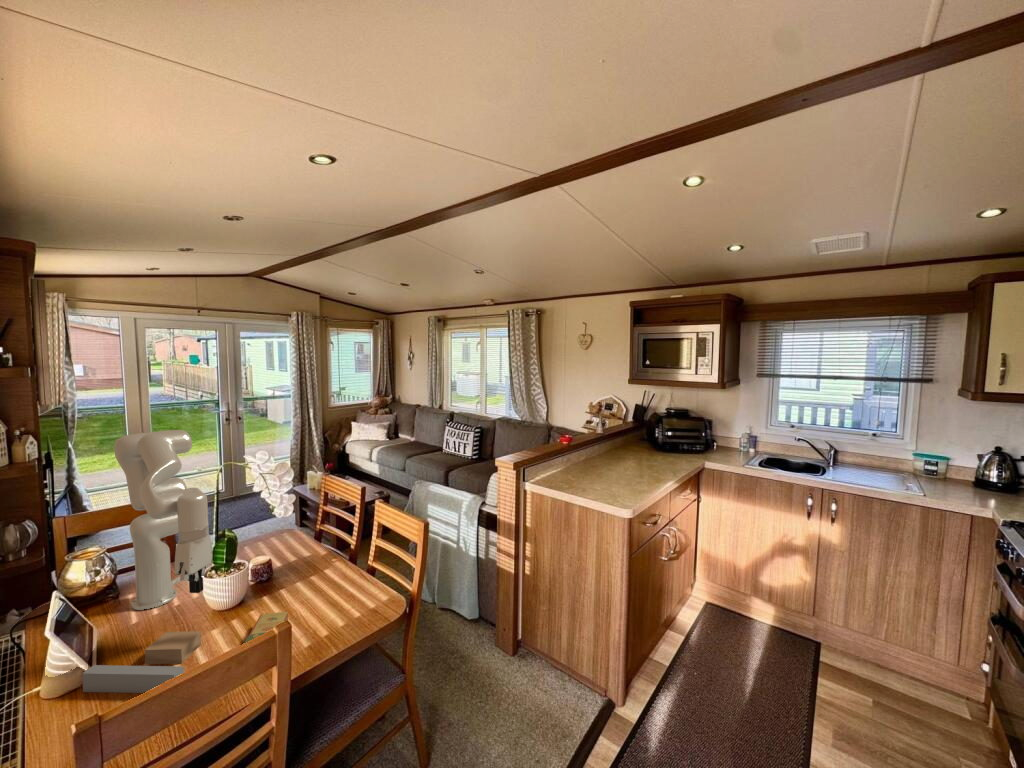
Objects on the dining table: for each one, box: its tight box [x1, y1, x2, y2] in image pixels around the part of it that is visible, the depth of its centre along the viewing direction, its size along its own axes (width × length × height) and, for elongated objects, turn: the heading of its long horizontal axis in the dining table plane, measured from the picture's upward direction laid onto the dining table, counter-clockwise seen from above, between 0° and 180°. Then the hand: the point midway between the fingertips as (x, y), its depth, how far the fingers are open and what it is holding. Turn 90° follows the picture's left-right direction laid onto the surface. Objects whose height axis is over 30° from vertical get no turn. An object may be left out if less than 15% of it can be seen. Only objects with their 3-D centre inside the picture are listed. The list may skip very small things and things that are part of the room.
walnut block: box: [144, 630, 202, 665], centre depth 124 cm, size 8×10×4 cm
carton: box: [244, 611, 289, 643], centre depth 131 cm, size 8×16×4 cm, turn 14°
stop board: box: [81, 664, 185, 694], centre depth 111 cm, size 3×24×5 cm, turn 89°
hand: (196, 591), depth 132 cm, fingers closed
